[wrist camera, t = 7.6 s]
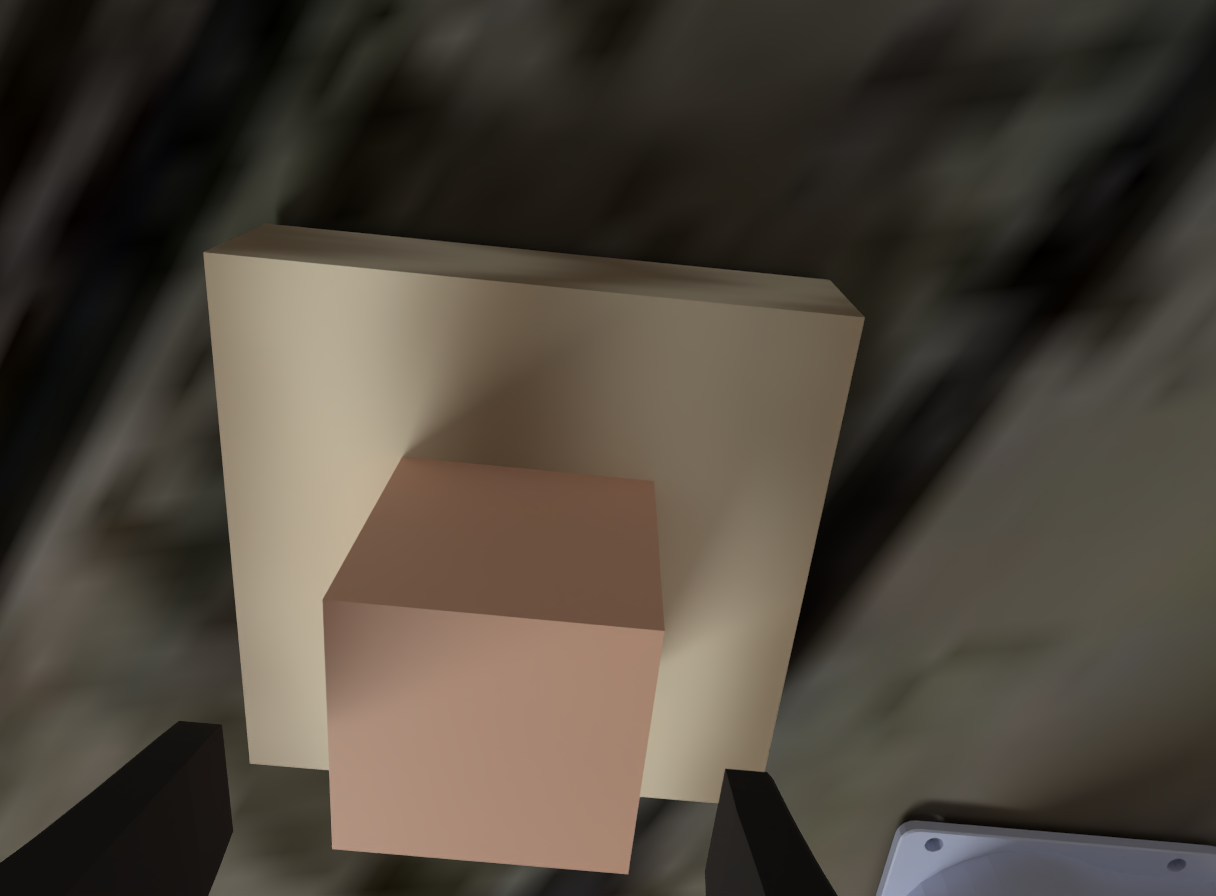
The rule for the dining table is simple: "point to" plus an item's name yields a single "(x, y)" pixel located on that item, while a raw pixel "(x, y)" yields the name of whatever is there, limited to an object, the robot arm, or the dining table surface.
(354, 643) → the terracotta cube
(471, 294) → the birch base
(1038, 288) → the dining table surface
